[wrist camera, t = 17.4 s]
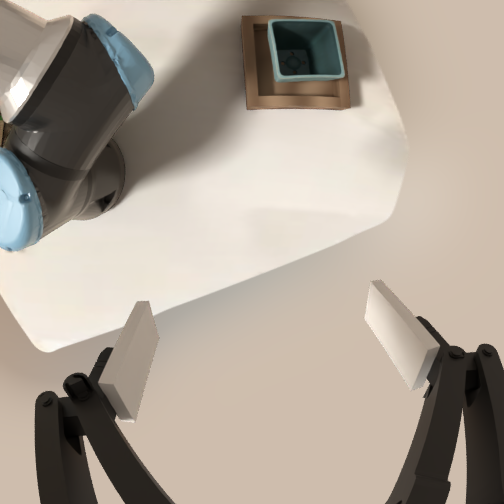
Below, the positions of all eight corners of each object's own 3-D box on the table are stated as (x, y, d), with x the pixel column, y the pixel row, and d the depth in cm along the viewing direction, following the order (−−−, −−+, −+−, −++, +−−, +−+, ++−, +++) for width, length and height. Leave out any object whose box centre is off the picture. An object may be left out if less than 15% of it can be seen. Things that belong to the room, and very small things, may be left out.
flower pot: (324, 88, 38) (346, 77, 29) (268, 91, 37) (278, 79, 29) (316, 39, 34) (334, 19, 26) (260, 41, 34) (267, 18, 26)
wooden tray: (246, 109, 39) (248, 106, 36) (241, 25, 34) (241, 15, 30) (340, 110, 40) (350, 107, 36) (332, 29, 34) (340, 21, 31)
